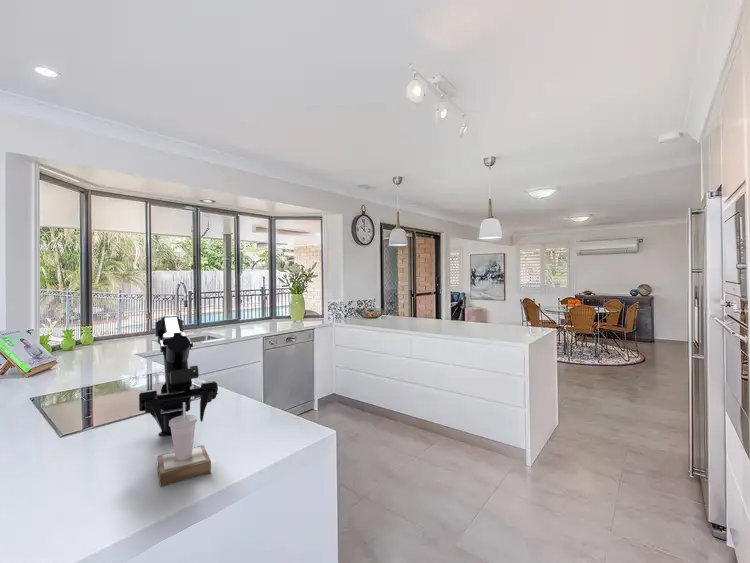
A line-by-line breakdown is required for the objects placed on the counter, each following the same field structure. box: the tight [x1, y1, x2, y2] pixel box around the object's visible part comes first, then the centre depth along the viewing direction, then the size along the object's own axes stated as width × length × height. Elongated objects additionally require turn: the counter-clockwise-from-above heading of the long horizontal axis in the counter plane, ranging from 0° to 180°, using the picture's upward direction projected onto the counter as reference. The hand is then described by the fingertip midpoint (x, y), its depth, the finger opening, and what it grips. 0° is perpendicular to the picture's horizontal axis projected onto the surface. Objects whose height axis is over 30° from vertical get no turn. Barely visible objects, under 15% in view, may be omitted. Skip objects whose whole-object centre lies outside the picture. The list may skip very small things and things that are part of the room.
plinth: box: [157, 445, 212, 487], centre depth 97 cm, size 11×11×3 cm
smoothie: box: [169, 402, 198, 461], centre depth 97 cm, size 6×6×14 cm
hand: (182, 424), depth 98 cm, fingers open, 9 cm apart
